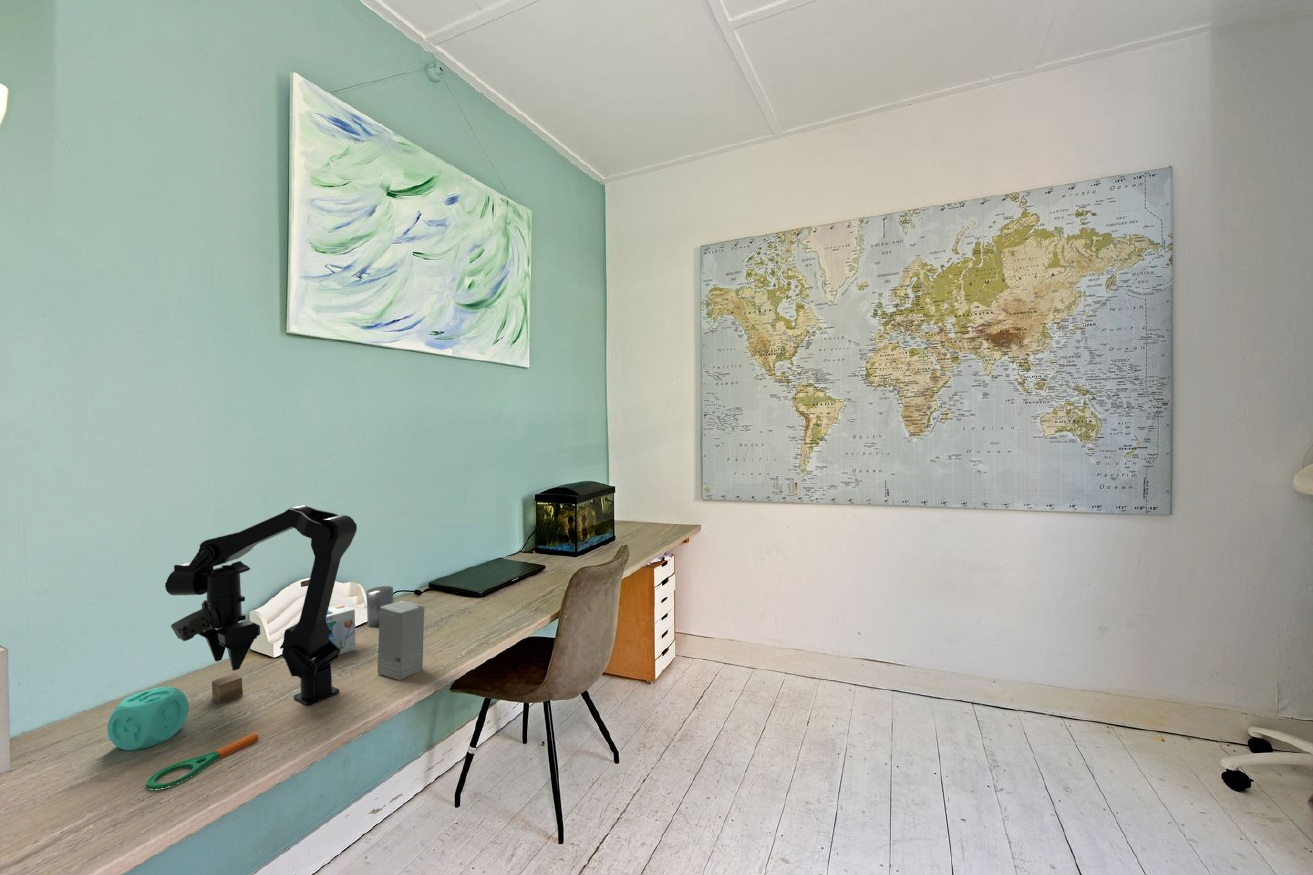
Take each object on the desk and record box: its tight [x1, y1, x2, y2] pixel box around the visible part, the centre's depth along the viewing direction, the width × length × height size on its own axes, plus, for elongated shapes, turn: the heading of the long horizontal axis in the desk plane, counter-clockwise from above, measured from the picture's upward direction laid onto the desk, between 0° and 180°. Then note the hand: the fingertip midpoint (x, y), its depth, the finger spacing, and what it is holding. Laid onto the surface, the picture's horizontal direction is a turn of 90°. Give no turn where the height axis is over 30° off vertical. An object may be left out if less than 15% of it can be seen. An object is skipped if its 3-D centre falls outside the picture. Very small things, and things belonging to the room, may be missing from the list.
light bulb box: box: [311, 604, 356, 660], centre depth 136 cm, size 11×7×11 cm, turn 143°
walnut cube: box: [211, 673, 244, 704], centre depth 114 cm, size 4×4×4 cm
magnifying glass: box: [146, 732, 260, 790], centre depth 91 cm, size 15×6×2 cm, turn 151°
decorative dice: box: [107, 686, 190, 751], centre depth 99 cm, size 8×8×8 cm
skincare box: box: [377, 600, 425, 681], centre depth 124 cm, size 8×7×16 cm
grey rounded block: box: [366, 585, 394, 628], centre depth 156 cm, size 7×7×10 cm
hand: (227, 665), depth 114 cm, fingers open, 9 cm apart
